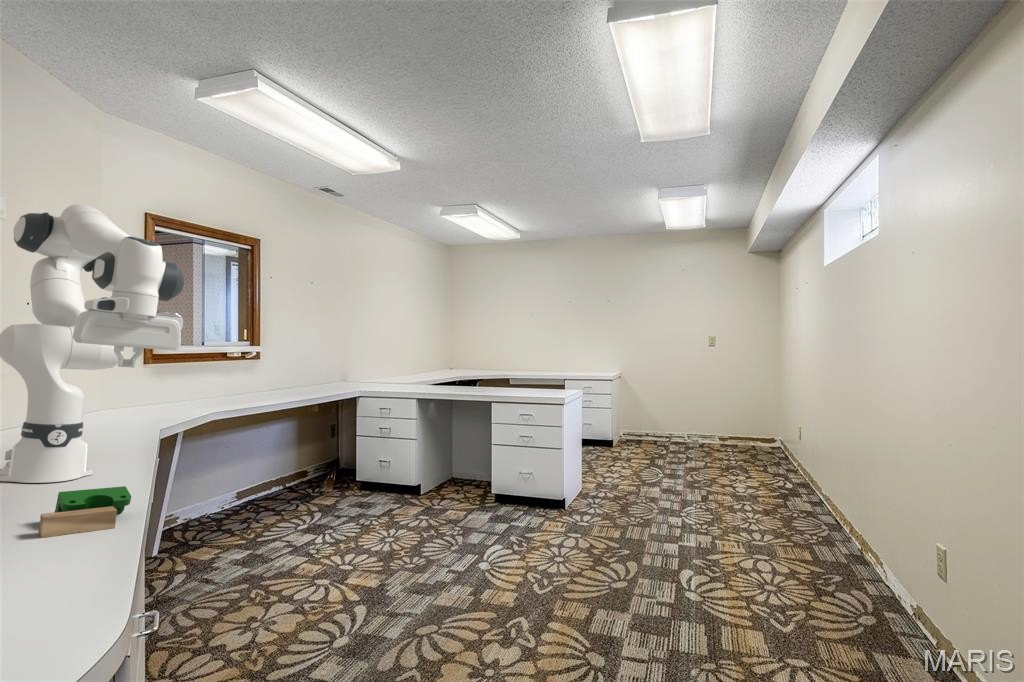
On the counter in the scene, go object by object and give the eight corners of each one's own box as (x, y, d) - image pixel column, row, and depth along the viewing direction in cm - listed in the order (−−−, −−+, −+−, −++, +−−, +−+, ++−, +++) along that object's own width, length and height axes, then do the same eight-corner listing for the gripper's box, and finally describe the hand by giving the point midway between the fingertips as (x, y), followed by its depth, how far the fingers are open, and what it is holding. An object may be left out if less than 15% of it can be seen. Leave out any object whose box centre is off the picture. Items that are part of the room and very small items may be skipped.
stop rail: (38, 533, 99) (40, 513, 99) (110, 523, 107) (112, 506, 107) (41, 537, 97) (44, 518, 97) (114, 527, 105) (117, 509, 105)
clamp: (68, 547, 105) (52, 510, 101) (62, 532, 108) (47, 496, 105) (139, 516, 112) (126, 481, 109) (131, 503, 116) (119, 469, 113)
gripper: (179, 313, 133) (172, 369, 132) (76, 300, 118) (67, 363, 117) (188, 313, 129) (181, 370, 128) (82, 300, 113) (73, 364, 113)
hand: (126, 367), depth 122 cm, fingers closed
